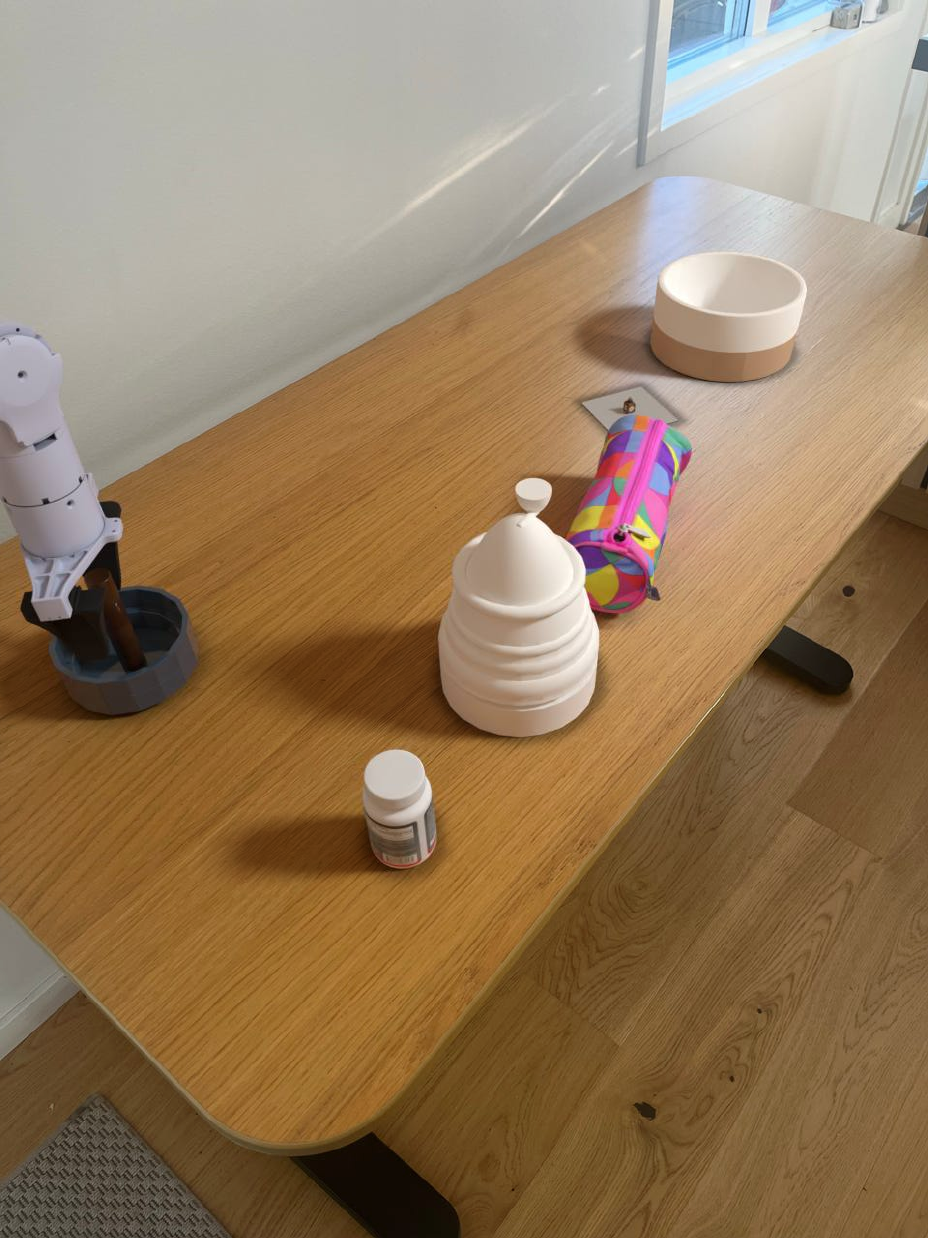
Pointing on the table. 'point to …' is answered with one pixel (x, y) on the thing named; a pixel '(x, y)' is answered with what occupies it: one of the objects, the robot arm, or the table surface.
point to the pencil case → (628, 512)
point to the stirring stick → (117, 621)
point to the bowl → (726, 315)
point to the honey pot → (519, 626)
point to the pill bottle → (399, 809)
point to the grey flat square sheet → (627, 407)
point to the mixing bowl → (163, 646)
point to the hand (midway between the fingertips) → (102, 621)
